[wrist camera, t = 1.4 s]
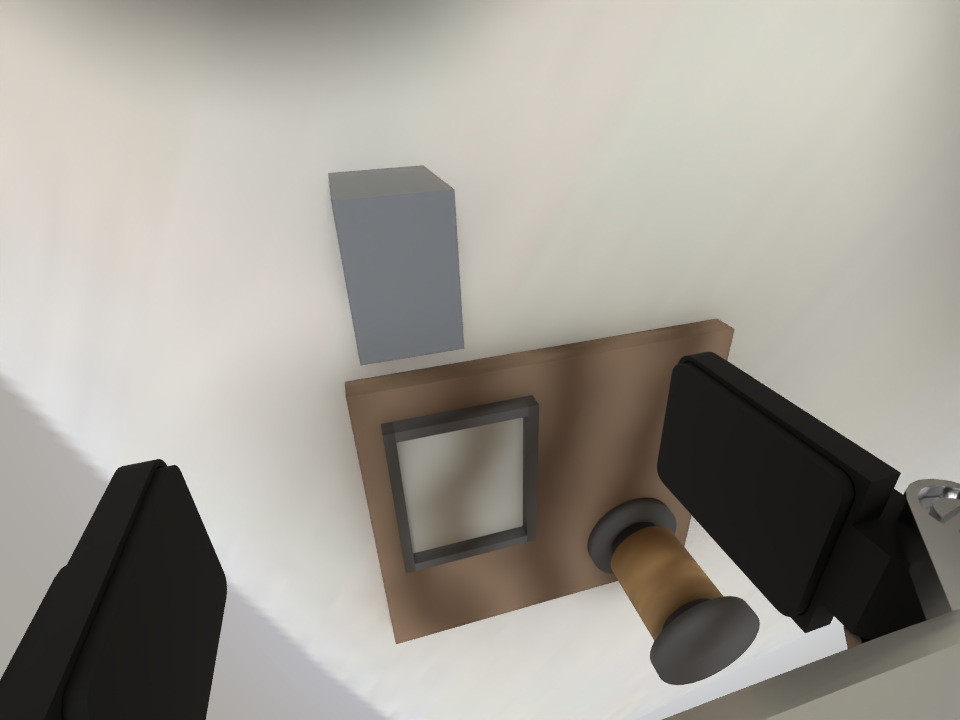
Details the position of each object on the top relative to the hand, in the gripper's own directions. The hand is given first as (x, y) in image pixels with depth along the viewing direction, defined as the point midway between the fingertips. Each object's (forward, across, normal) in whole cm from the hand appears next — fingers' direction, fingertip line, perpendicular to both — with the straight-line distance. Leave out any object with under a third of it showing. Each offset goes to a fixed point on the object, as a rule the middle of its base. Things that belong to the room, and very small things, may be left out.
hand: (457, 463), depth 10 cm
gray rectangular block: (+16, -1, 0) cm, 16 cm away
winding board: (+16, -9, +17) cm, 24 cm away
